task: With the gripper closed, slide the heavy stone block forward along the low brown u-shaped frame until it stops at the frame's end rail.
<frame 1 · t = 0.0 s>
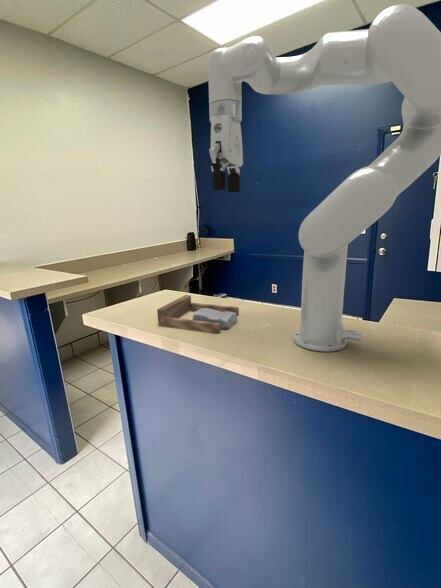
hand: (227, 191, 77), 37 cm above the worktop, tool pointing down, fingers open, 9 cm apart
stone block: (216, 323, 93), on the worktop
brown u-shaped frame: (203, 320, 94), on the worktop
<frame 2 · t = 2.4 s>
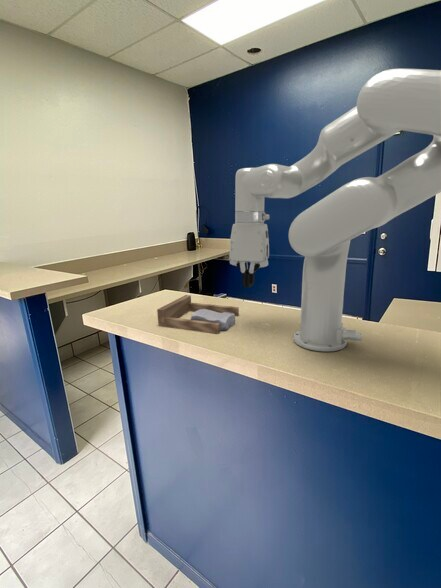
hand: (248, 286, 86), 12 cm above the worktop, tool pointing down, fingers closed
stone block: (214, 324, 92), on the worktop
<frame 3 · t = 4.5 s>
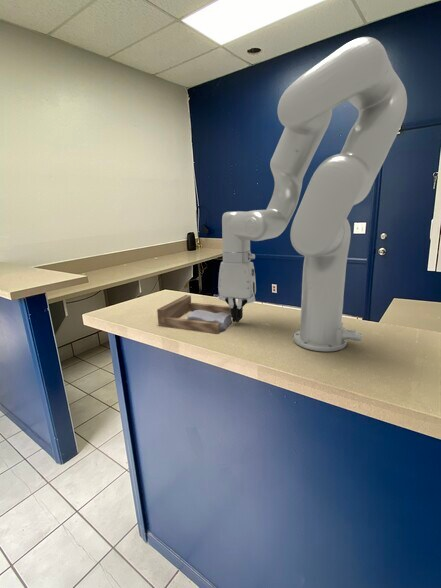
hand: (236, 320, 90), 1 cm above the worktop, tool pointing down, fingers closed
stone block: (210, 325, 91), on the worktop
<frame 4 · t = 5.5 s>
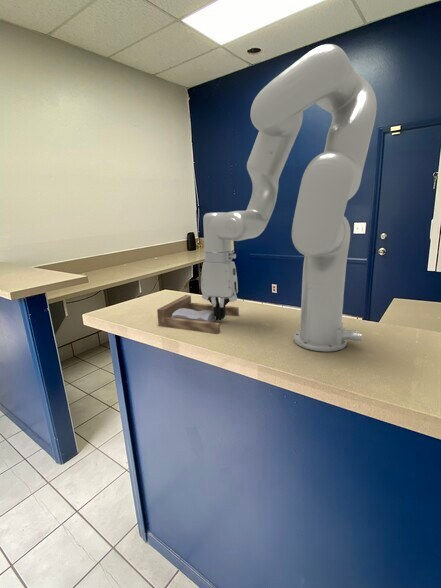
hand: (219, 318, 92), 1 cm above the worktop, tool pointing down, fingers closed
stone block: (195, 323, 93), on the worktop, touching gripper
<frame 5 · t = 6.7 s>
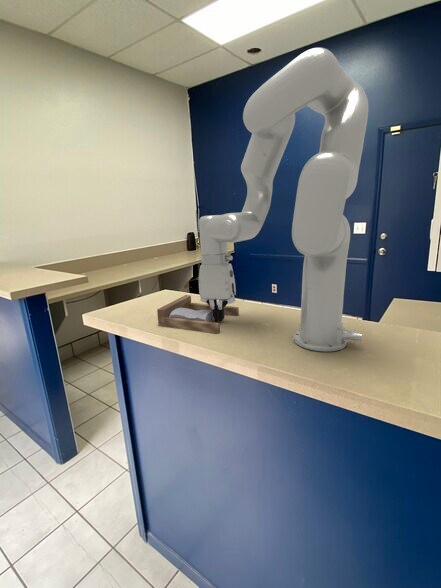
hand: (218, 321, 92), 0 cm above the worktop, tool pointing down, fingers closed
stone block: (193, 322, 94), on the worktop, touching gripper, brown u-shaped frame
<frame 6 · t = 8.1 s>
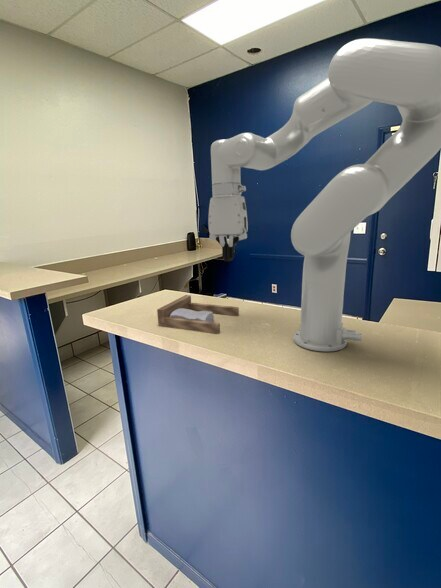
hand: (228, 260, 86), 19 cm above the worktop, tool pointing down, fingers closed
stone block: (193, 323, 94), on the worktop
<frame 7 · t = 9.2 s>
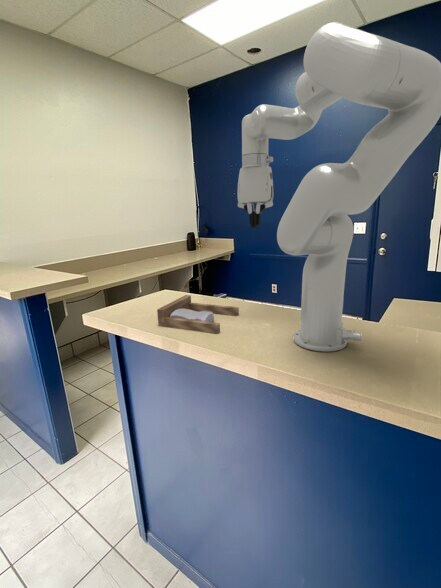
hand: (254, 227, 94), 27 cm above the worktop, tool pointing down, fingers closed
nothing on the worktop moved.
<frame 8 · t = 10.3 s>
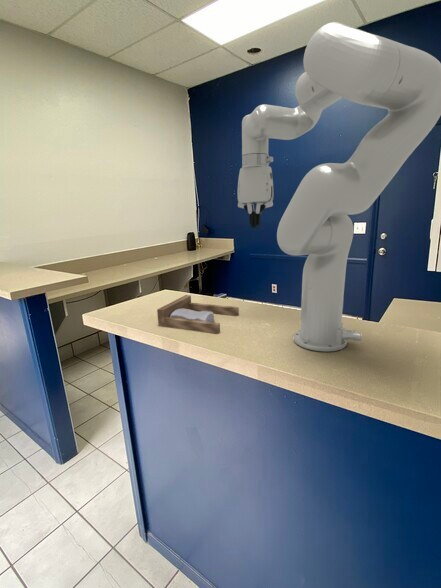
hand: (255, 227, 94), 27 cm above the worktop, tool pointing down, fingers closed
nothing on the worktop moved.
at the end: stone block 2.3 cm from the target spot, on the worktop; stone block tilted 0° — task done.
